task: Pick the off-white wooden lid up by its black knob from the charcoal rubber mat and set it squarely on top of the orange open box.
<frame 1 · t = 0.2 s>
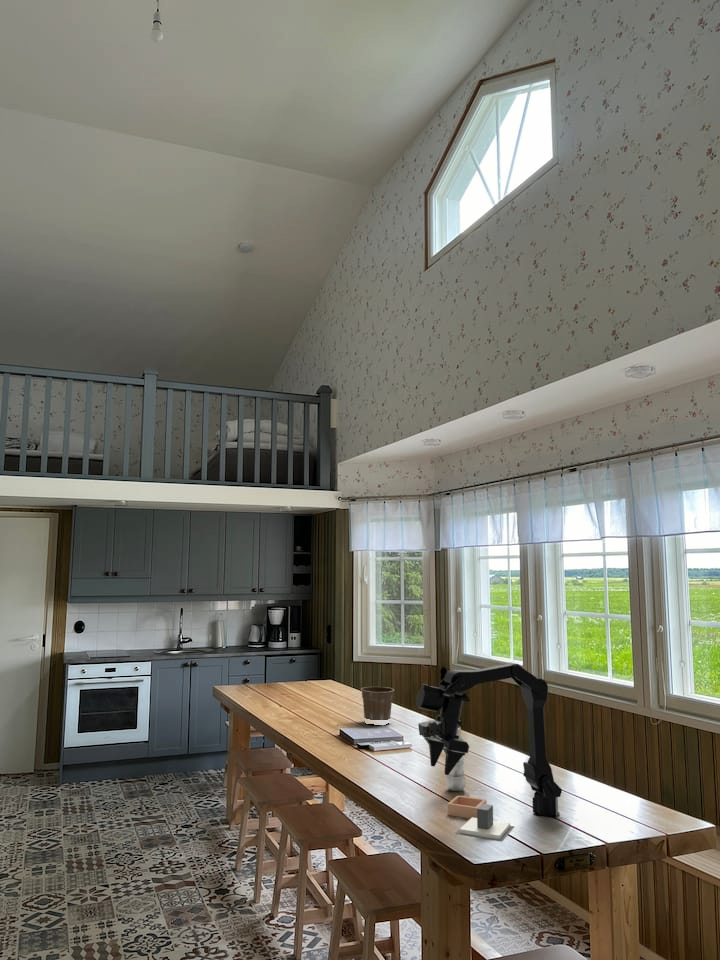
hand: (439, 770, 206), 15 cm above the table, tool pointing down, fingers open, 9 cm apart
orange open box: (467, 815, 213), on the table
plastic bottle: (455, 791, 238), on the table
mat: (485, 832, 199), on the table
plant pot: (377, 724, 346), on the table
lid: (485, 829, 199), point 1 cm above the table, touching mat
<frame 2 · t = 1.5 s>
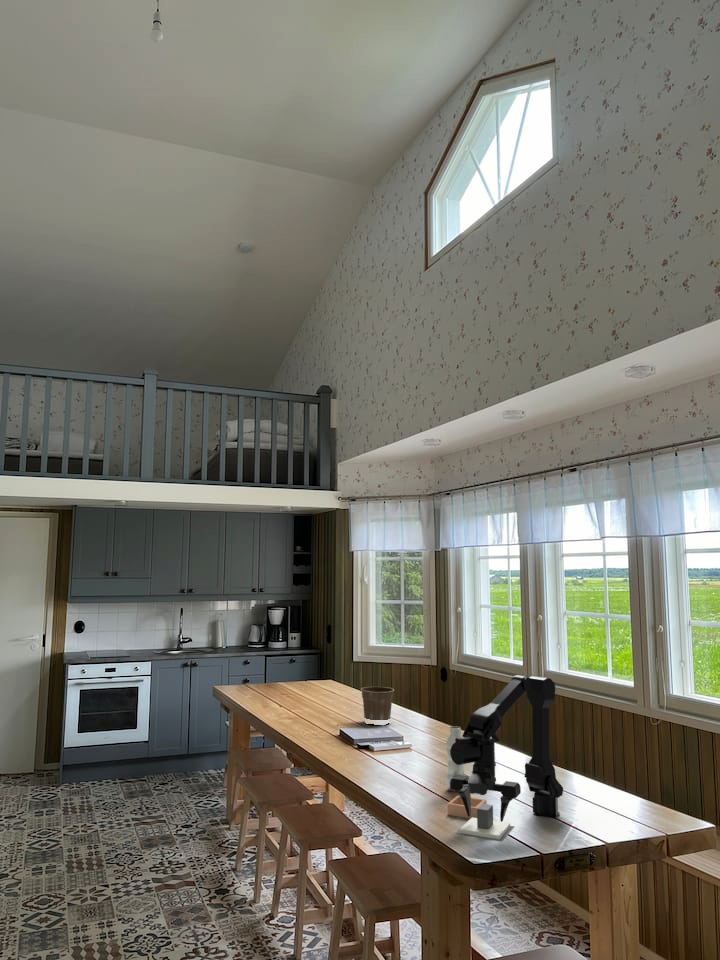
hand: (485, 818, 199), 3 cm above the table, tool pointing down, fingers open, 9 cm apart
nothing on the table moved.
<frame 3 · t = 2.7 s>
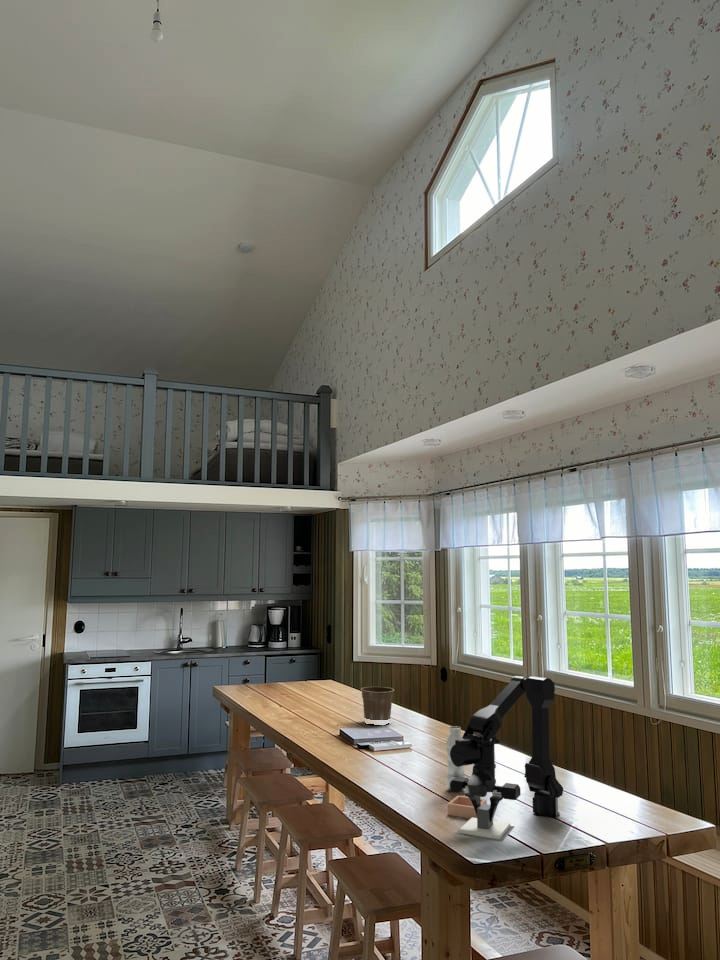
hand: (485, 820, 199), 3 cm above the table, tool pointing down, fingers closed on lid, 3 cm apart
lid: (485, 829, 199), point 1 cm above the table, touching gripper, mat
everything else where it was.
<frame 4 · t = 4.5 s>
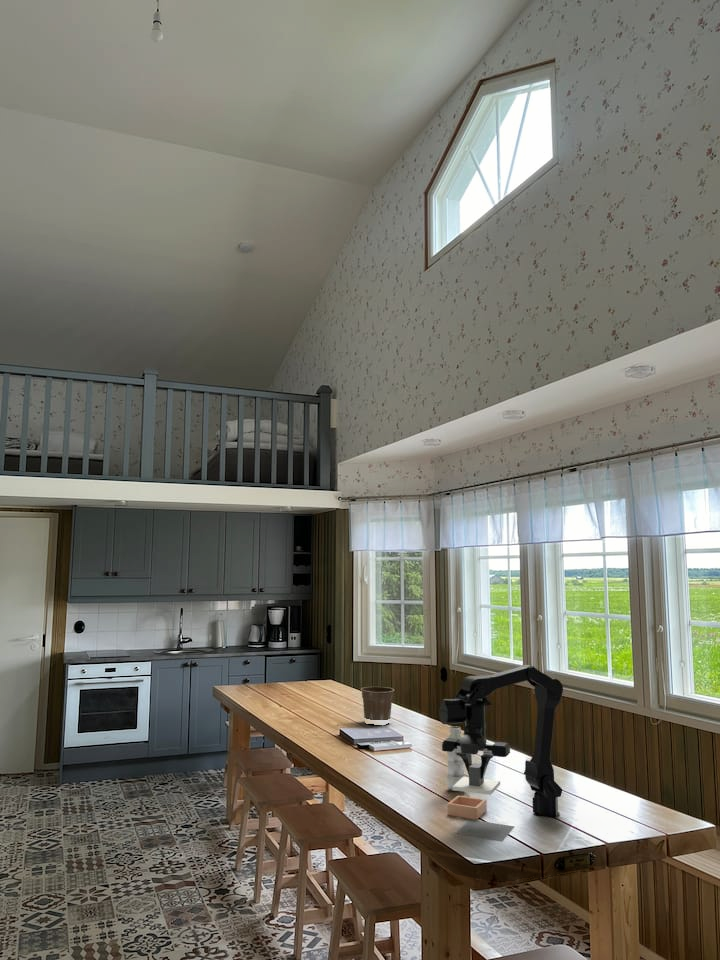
hand: (476, 778, 207), 12 cm above the table, tool pointing down, fingers closed on lid, 3 cm apart
lid: (476, 787, 207), point 10 cm above the table, touching gripper
everything else where it was.
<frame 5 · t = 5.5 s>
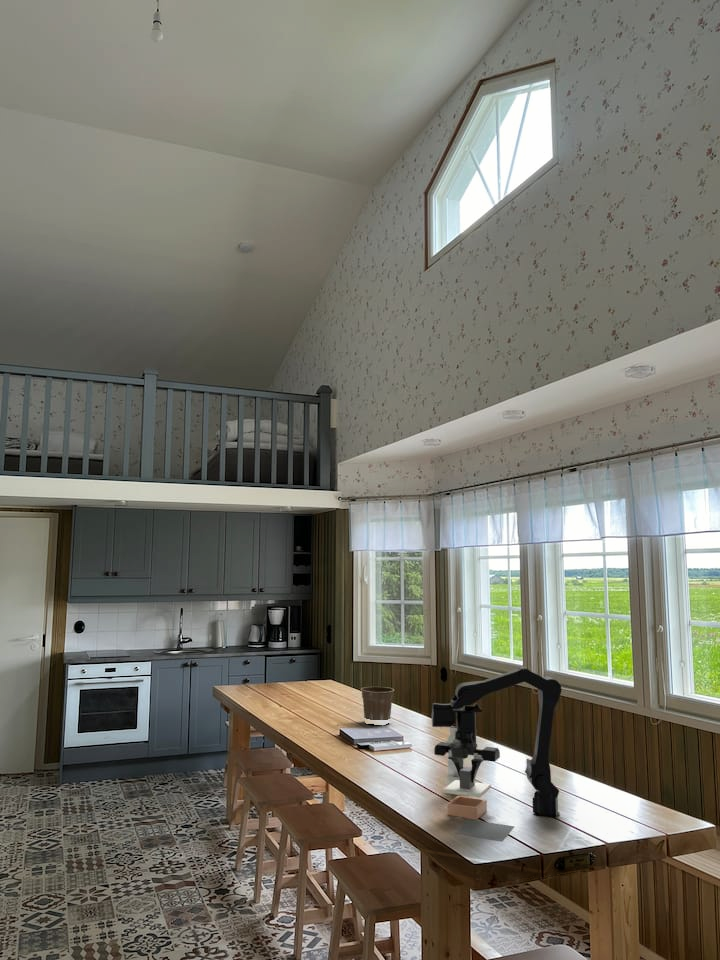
hand: (467, 781, 215), 9 cm above the table, tool pointing down, fingers closed on lid, 3 cm apart
lid: (467, 790, 214), point 7 cm above the table, touching gripper
everything else where it was.
when the fingers open (7 cm above the table, at t = 6.4 s): lid drops 1 cm, point 4 cm above the table.
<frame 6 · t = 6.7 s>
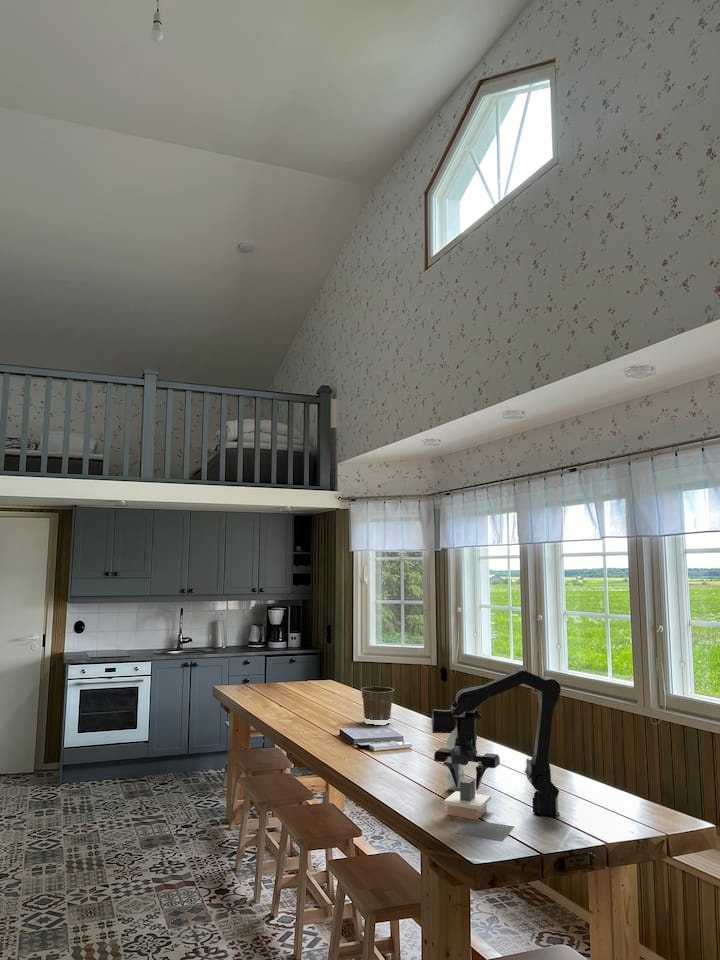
hand: (467, 788, 214), 7 cm above the table, tool pointing down, fingers open, 6 cm apart
lid: (467, 801, 214), point 4 cm above the table
everything else where it was.
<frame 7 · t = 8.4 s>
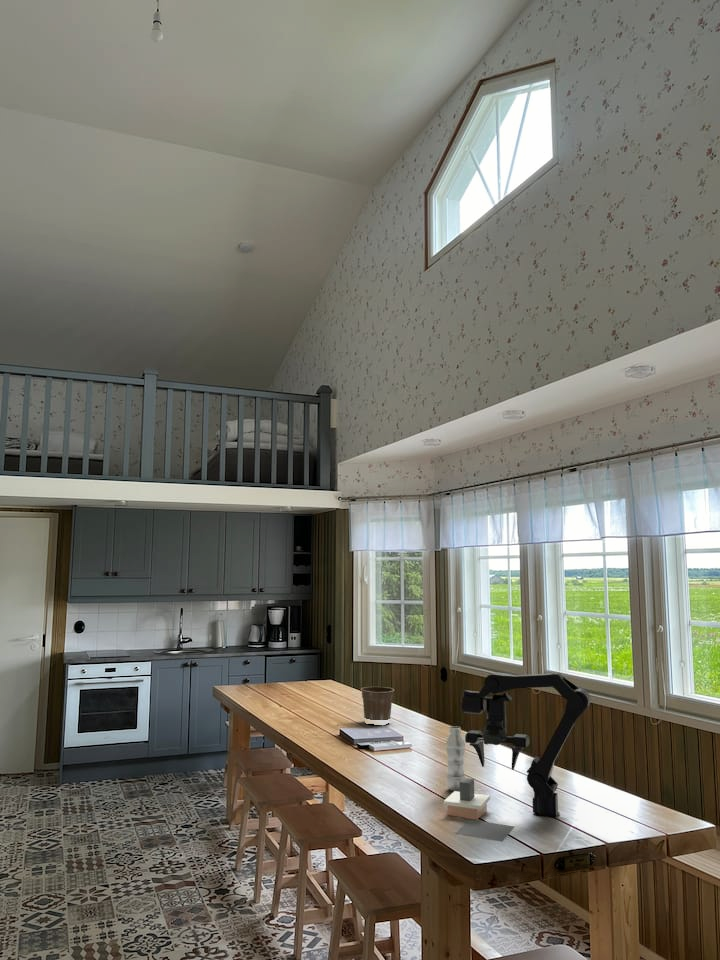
hand: (497, 768, 220), 12 cm above the table, tool pointing down, fingers open, 9 cm apart
orange open box: (467, 815, 213), on the table, touching lid
lid: (467, 801, 214), point 4 cm above the table, touching orange open box
everything else where it was.
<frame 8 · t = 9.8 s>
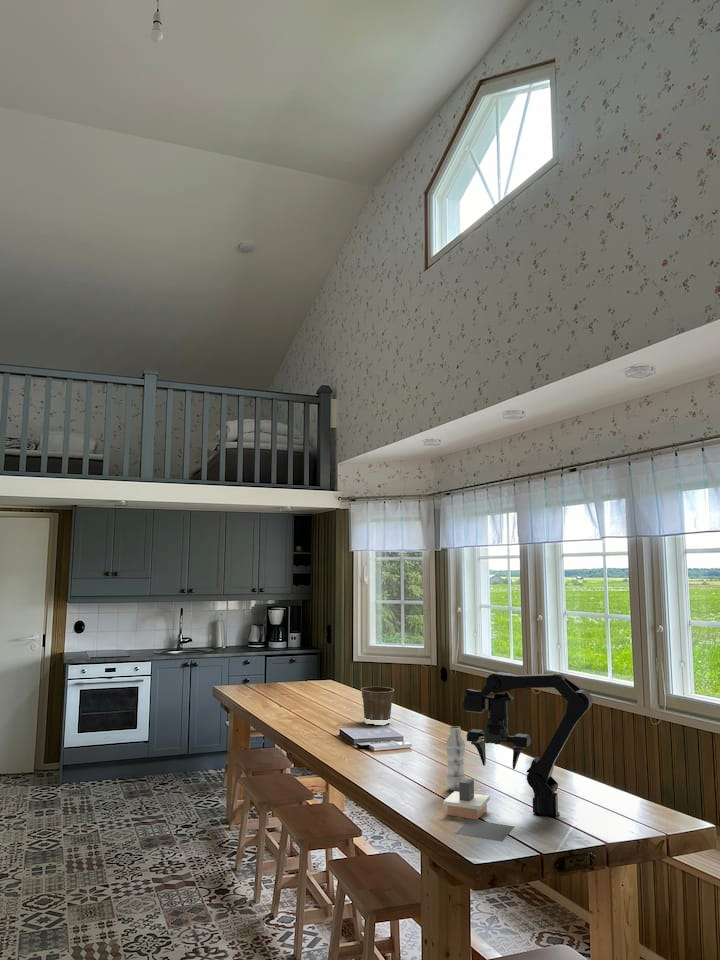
hand: (498, 767, 221), 12 cm above the table, tool pointing down, fingers open, 9 cm apart
nothing on the table moved.
at the end: lid 0.2 cm off-centre on the orange open box, point 4.0 cm above the orange open box's base; lid tilted 0°; the gripper is holding nothing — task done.
